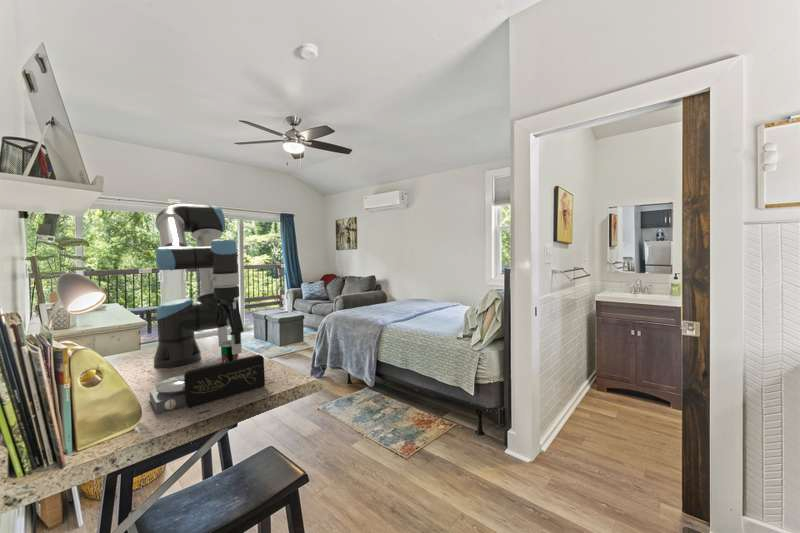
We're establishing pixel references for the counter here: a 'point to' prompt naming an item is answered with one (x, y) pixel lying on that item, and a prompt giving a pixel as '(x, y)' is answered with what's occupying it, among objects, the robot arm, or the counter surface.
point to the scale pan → (171, 385)
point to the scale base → (166, 400)
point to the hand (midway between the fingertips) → (229, 349)
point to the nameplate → (223, 380)
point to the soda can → (227, 352)
